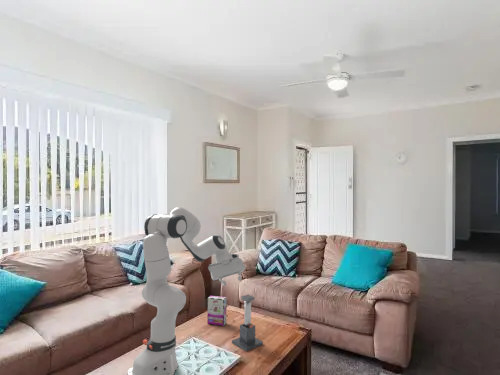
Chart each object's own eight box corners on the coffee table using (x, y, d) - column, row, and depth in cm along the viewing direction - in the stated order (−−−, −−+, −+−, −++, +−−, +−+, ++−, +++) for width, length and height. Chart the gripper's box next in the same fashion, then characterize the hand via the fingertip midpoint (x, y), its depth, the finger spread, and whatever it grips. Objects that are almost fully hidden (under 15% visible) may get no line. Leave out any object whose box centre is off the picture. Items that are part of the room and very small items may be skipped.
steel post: (246, 343, 173) (247, 298, 173) (240, 339, 177) (241, 296, 177) (253, 340, 176) (254, 296, 176) (247, 337, 180) (248, 294, 180)
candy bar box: (226, 323, 203) (227, 296, 203) (223, 326, 198) (224, 299, 198) (210, 320, 206) (210, 295, 206) (207, 323, 202) (207, 297, 202)
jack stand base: (245, 351, 168) (246, 330, 168) (231, 342, 177) (232, 323, 177) (262, 344, 176) (263, 324, 176) (248, 336, 185) (248, 317, 185)
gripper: (207, 263, 182) (216, 285, 175) (240, 253, 191) (249, 275, 184) (206, 267, 187) (214, 290, 180) (238, 258, 196) (247, 279, 189)
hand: (232, 282), depth 182 cm, fingers open, 8 cm apart
